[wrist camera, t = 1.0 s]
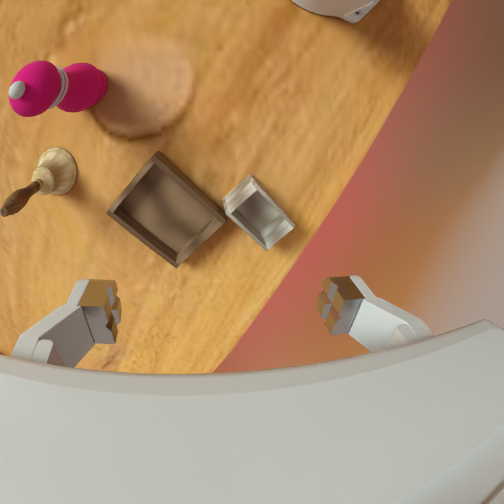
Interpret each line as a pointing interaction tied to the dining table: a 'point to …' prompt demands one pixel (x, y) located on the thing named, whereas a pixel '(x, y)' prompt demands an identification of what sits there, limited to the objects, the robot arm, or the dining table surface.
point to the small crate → (257, 213)
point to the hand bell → (45, 179)
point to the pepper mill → (56, 88)
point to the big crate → (167, 211)
